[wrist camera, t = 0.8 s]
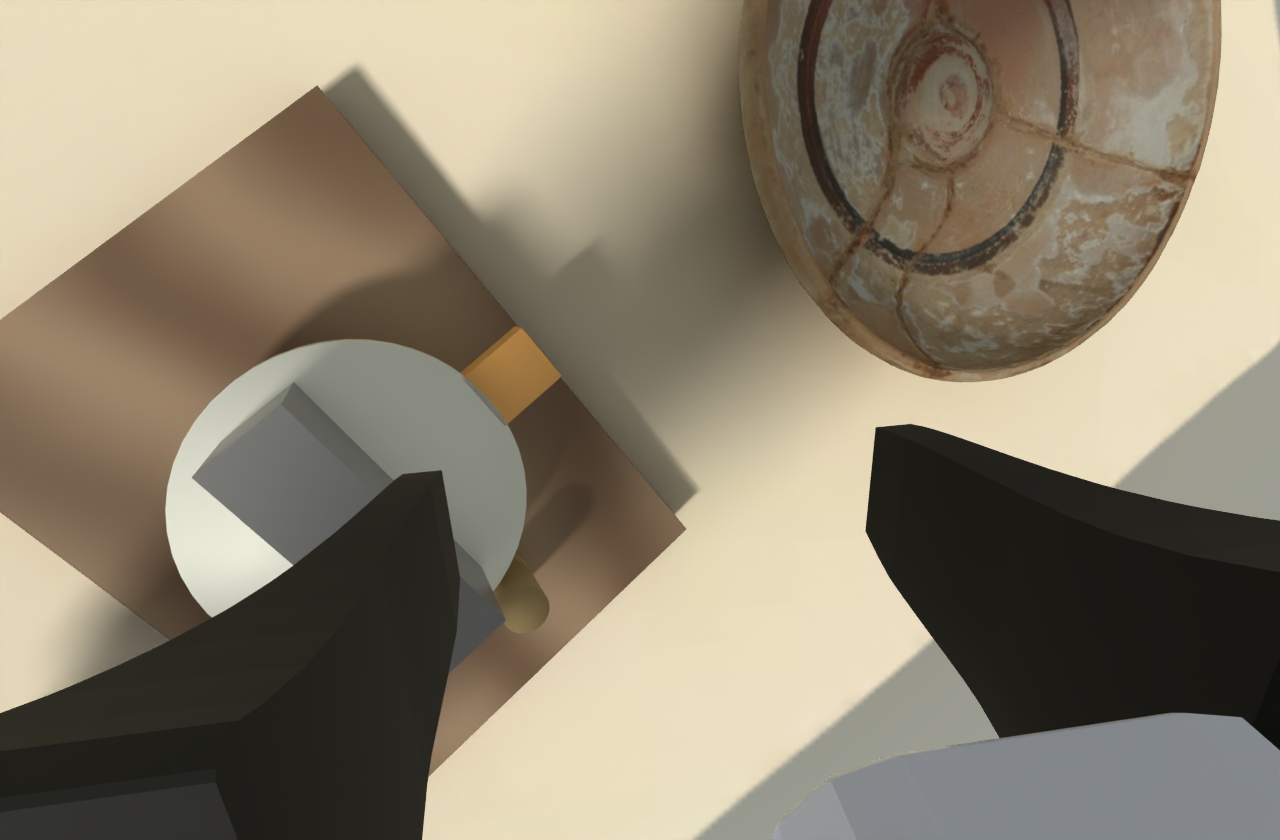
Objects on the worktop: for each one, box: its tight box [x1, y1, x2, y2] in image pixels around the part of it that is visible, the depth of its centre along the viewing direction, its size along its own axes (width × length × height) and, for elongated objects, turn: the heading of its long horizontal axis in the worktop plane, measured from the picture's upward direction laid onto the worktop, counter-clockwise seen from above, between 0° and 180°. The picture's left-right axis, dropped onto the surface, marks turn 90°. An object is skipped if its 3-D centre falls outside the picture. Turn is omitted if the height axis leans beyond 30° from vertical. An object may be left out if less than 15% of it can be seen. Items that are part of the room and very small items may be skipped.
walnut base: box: [0, 86, 686, 777], centre depth 24 cm, size 15×20×5 cm
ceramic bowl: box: [739, 0, 1221, 382], centre depth 30 cm, size 23×24×5 cm
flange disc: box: [165, 326, 562, 674], centre depth 21 cm, size 12×10×5 cm
